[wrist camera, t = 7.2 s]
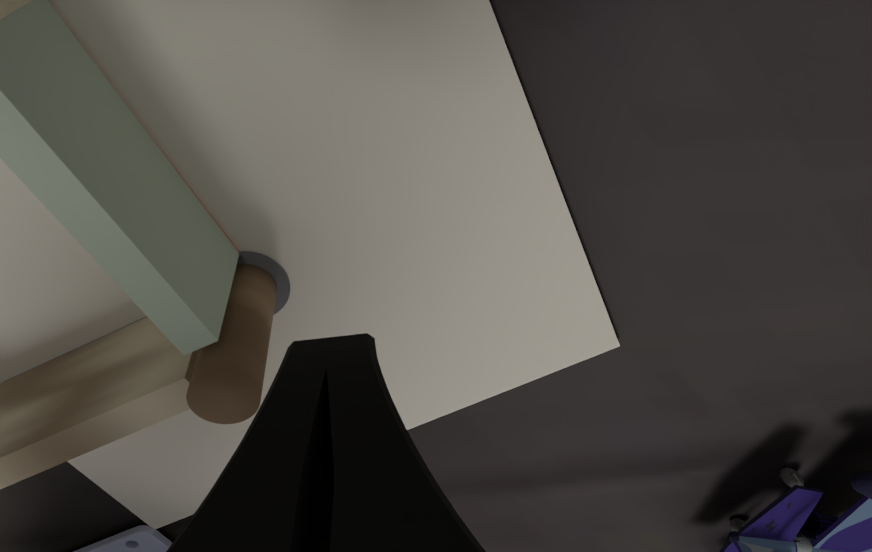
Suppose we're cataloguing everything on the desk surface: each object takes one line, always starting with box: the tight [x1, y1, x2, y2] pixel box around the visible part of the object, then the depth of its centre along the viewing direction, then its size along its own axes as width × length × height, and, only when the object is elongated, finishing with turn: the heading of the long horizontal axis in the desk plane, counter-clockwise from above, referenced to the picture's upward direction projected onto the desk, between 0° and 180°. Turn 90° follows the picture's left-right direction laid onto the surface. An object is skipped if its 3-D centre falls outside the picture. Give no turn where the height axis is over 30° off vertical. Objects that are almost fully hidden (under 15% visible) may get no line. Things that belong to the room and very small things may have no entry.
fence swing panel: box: [0, 0, 239, 355], centre depth 15 cm, size 10×2×4 cm, turn 23°
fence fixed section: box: [0, 264, 277, 489], centre depth 20 cm, size 12×2×5 cm, turn 114°
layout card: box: [0, 0, 620, 530], centre depth 20 cm, size 20×18×1 cm
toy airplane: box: [720, 468, 872, 552], centre depth 30 cm, size 13×14×4 cm
